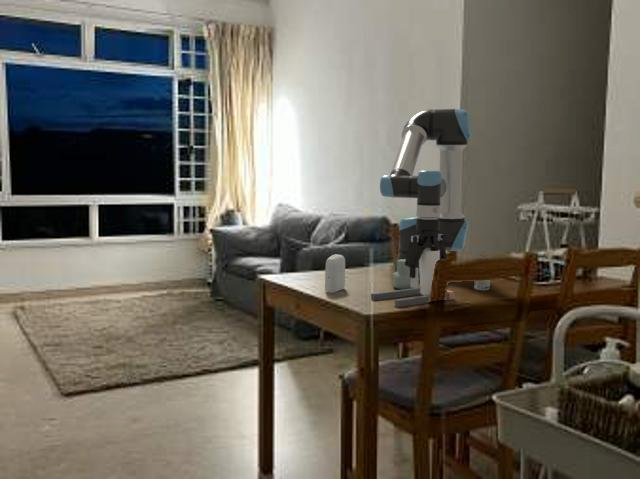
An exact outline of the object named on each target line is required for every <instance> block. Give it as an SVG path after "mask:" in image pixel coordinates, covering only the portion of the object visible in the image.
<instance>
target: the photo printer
mask: <svg viewBox="0 0 640 479" xmlns="http://www.w3.org/2000/svg"><path fill="white" fill-rule="evenodd" d="M324 270H325V273H324V274H325V275H324V276H325V277H324V278H325V279H324V280H325V281H324V283H325V284H324V290H325V292H326V293H328V292H329V294H330V293H331V294H333V293H337V292H338V291H339V292H340V291H341V290H343V289H345V286H346V259H345V256H344V255H342V254H332V255H331V256H329V257H328V258H327V259H326V262H325V269H324Z"/></svg>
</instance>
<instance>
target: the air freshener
mask: <svg viewBox="0 0 640 479" xmlns="http://www.w3.org/2000/svg"><path fill="white" fill-rule="evenodd" d="M396 261H397V260H396ZM405 261H406V259H400V260H398V261H397V272H395V273H394V272H393V273H392V275H391V284H392V286H393V287H394V288H396V290H403V289H411V288H412V287H410V285H411V278H410V267H408V266H405ZM418 286H420V277H418Z"/></svg>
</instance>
